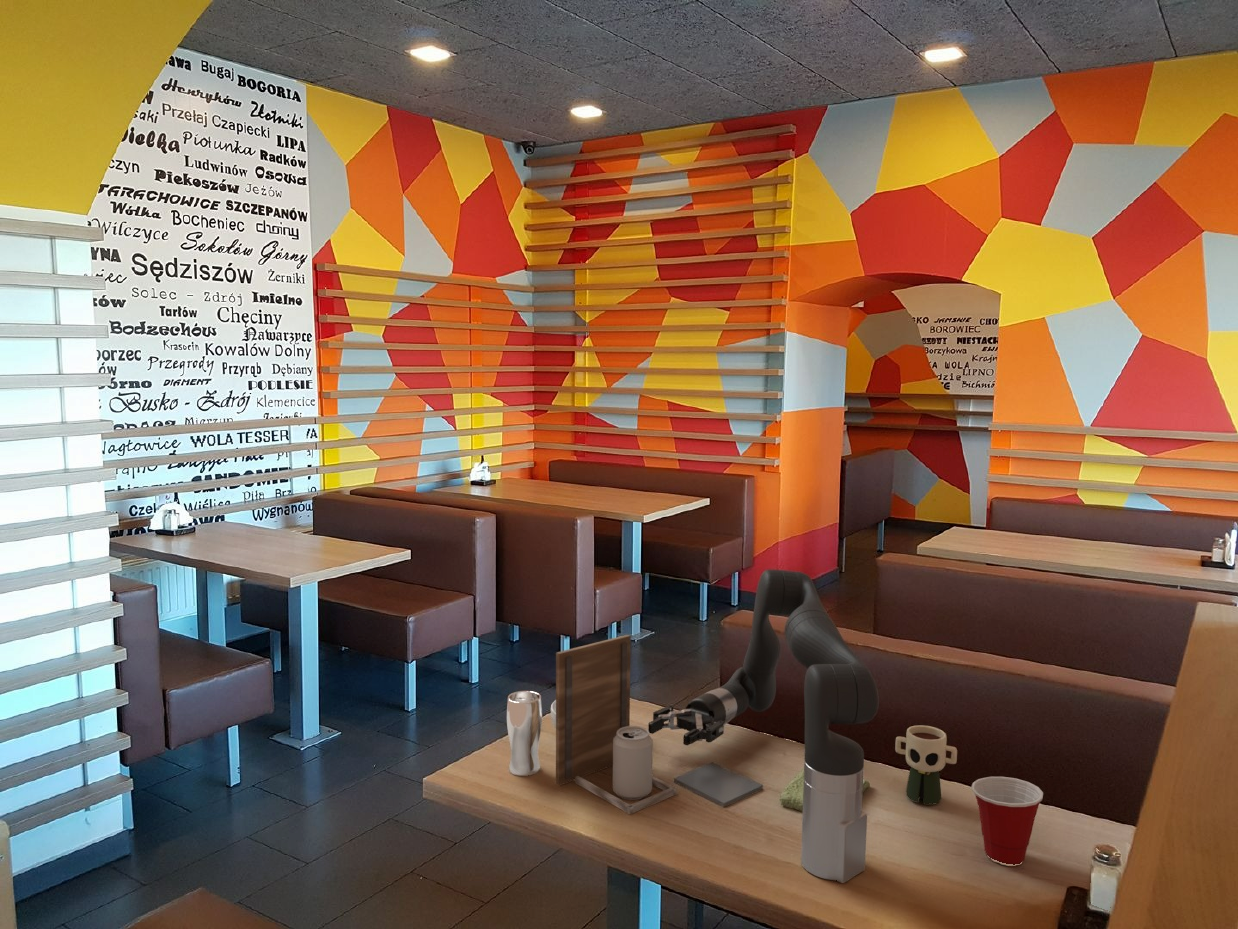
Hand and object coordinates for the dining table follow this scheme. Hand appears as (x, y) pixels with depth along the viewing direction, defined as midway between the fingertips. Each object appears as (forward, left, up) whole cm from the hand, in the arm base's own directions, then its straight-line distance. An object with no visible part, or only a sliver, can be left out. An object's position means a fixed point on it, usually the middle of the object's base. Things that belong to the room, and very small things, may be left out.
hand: (667, 734), depth 175 cm
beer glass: (+19, +21, -8) cm, 29 cm away
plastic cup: (-58, -21, -8) cm, 62 cm away
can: (-2, +11, -8) cm, 14 cm away
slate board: (-11, -3, -8) cm, 14 cm away
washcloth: (-26, -16, -8) cm, 32 cm away
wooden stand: (0, +11, -8) cm, 13 cm away
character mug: (-39, -29, -8) cm, 49 cm away
